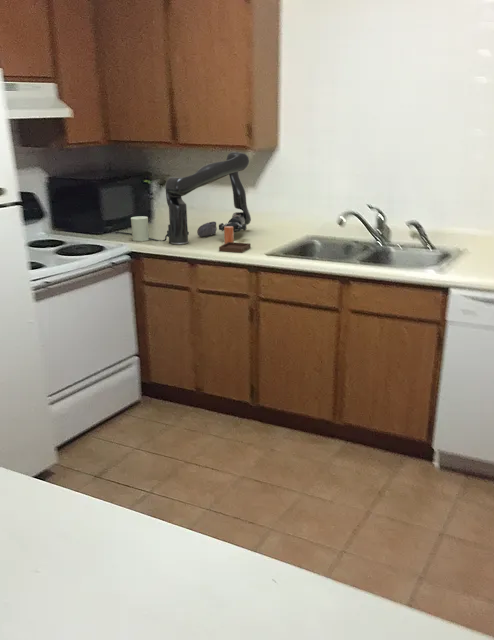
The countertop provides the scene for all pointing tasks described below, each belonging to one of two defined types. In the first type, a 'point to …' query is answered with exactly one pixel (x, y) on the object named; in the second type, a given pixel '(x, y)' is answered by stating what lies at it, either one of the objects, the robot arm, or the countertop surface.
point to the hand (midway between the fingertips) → (230, 229)
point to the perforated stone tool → (207, 229)
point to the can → (140, 228)
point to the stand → (235, 247)
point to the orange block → (228, 234)
